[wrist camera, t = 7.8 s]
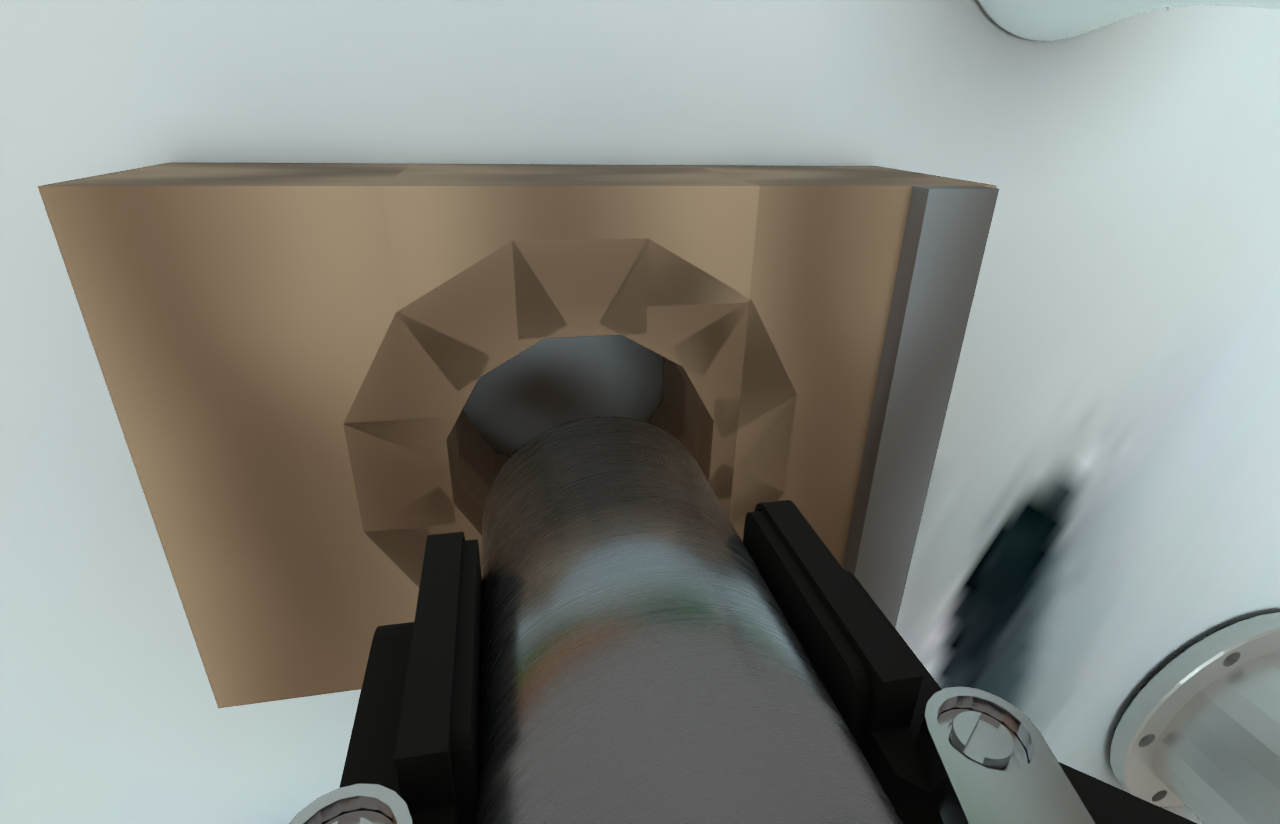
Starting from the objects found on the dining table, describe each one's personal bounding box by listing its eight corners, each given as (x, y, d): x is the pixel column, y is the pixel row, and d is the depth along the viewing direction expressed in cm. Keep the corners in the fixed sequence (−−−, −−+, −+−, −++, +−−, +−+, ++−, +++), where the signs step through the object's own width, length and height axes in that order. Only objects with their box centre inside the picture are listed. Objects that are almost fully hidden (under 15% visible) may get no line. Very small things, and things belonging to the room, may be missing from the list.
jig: (877, 166, 19) (1015, 188, 14) (820, 520, 24) (906, 631, 19) (170, 162, 15) (13, 190, 10) (278, 576, 20) (208, 729, 15)
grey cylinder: (715, 408, 12) (1020, 827, 5) (701, 595, 14) (912, 1091, 7) (472, 425, 11) (440, 951, 4) (491, 621, 13) (490, 1214, 6)
